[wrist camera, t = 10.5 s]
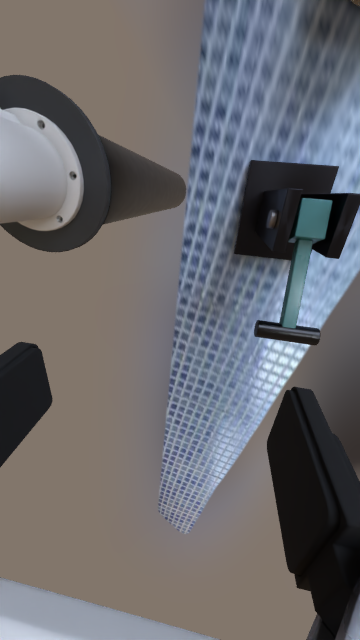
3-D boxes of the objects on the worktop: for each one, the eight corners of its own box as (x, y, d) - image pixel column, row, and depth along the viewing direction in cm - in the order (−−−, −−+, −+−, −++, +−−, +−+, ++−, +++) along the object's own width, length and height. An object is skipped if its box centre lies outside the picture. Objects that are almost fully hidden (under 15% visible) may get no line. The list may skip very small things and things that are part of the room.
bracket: (305, 259, 31) (352, 296, 20) (234, 251, 32) (239, 282, 20) (334, 167, 26) (418, 145, 15) (250, 161, 27) (268, 136, 16)
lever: (309, 342, 22) (321, 348, 19) (252, 333, 22) (257, 339, 20) (336, 211, 20) (353, 201, 18) (274, 206, 21) (282, 195, 18)
